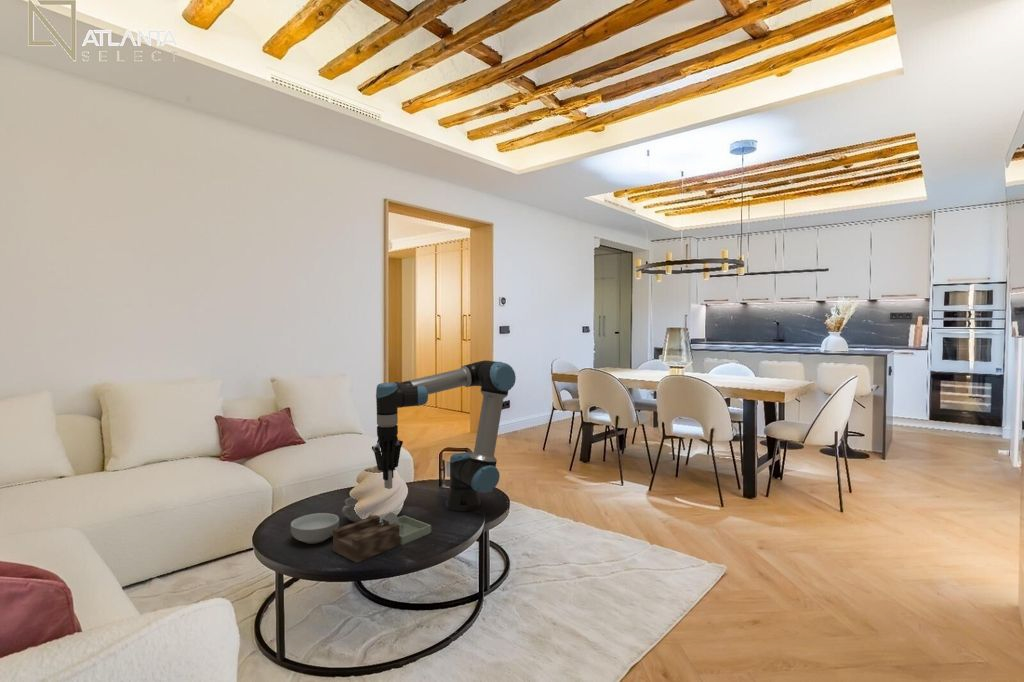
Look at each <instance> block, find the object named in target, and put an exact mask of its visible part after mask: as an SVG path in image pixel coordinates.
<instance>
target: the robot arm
mask: <svg viewBox="0 0 1024 682" xmlns="http://www.w3.org/2000/svg"><path fill="white" fill-rule="evenodd" d="M516 378H517V377H516V371H515V370H514V368H513V366H511V365H510V364H508V363H506V362H502V361H495V360H494V361H492V360H481V361H475V362H472V363H469V364H465V365H462V366H460V368H458V369H457V368H456V369H453V370H450V371H449V370H448V371H444V372H440V373H436V374H432V375H426V376H422V377H418V378H415V379H409V380H406V381H405V380H404V381H401V382H399V381H393V382H381V383H379V384H377V385H376V391H375V399H376V401H375V402H376V403H375V404H376V425H377V426H376V436H377V442H376V444H375V445H373V446H371V450H372V451H373V453H374V457H375V462H376V468H377V470H378V471H381V472H382V479H383V480H384V481H383V483H384V489H387V490H391V489H393V479H394V471H396V468H398V467H399V460H400V455H401V449H402V446H403V443H404V441H403V440H400V439H399V438H398V434H399V430H398V429H399V425H398V423H399V421H398V419H399V418H398V411H399V410H398V408H410V407H419V406H424V405H426V404H427V403H428V400H429V395H433V394H436V393H439V392H441V393H442V392H444V391H448V390H452V389H457V388H461V387H464V388H470V387H480V393H481V394H482V402H481V407H480V408H481V409H480V414H479V419H478V426H477V431H476V438H475V443H474V448H473V449H474V450H473V452H471V451H470V452H468V451H467V452H458V453H453V454H452V455H451V456H450V457H449V458H450V459H449V490H448V493H447V498H446V500H445V507H446V509H448V510H451V511H455V512H470V511H475V510H477V509H479V508H480V507H481V497H480V495H479V493H480V494H481V493H482V494H485V493H489V492H491V491H493V490H494V489H495V488H497V486H498V484H499V481H500V471H499V469H498V468H497V462H498V459H497V458H496V457H495V453H496V446H497V439H498V436H499V435H498V433H499V428H500V422H501V417H502V416H501V415H502V410H503V404H504V399H505V398H507V397H508V395H509V391H511V390H512V388H513V387H514V386H515V383H516Z"/></svg>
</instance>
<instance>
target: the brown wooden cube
mask: <svg viewBox="0 0 1024 682" xmlns="http://www.w3.org/2000/svg"><path fill="white" fill-rule="evenodd" d="M398 517H399V516H398V515H397V514H395V513H393V512H391V511H389V512H388V513H386V515H385V516H384V517H382V518H381V520H382V523H383V524H384V525H385V526H388V525H391V524H393V523H397V524H400V523H399V520H398Z"/></svg>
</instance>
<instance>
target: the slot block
mask: <svg viewBox="0 0 1024 682" xmlns="http://www.w3.org/2000/svg"><path fill="white" fill-rule="evenodd" d="M380 519H381V518H380V516H378V515H372V516H369V517H368V518H366V519H363V520H361V521H358V522H352V523H349V524H347V525H343V526H341V527H338V529H335V530H333V535H332V551H333V552H334V553H336V554H338V555H341V556H342V557H343V558H346V559H347V560H350V561H353V562H354V563H356V564H358V563H360V562H362V560H363V561H365V560H368V559H370V558H372V557H374V556H376V555H378V554H382V553H384V552H386V551H389V550H390V549H394V548H396V547H398V546H400V545H401V544H400V539H399V524H397V523H393V524H391V525H388V526H385V525H382V523H381V522H380ZM357 562H358V563H357Z"/></svg>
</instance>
